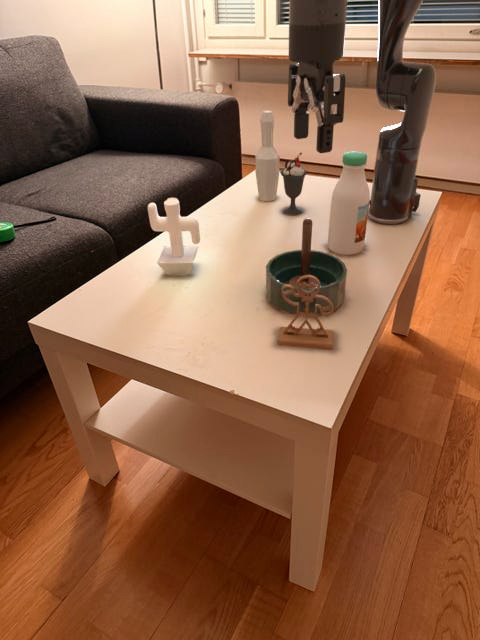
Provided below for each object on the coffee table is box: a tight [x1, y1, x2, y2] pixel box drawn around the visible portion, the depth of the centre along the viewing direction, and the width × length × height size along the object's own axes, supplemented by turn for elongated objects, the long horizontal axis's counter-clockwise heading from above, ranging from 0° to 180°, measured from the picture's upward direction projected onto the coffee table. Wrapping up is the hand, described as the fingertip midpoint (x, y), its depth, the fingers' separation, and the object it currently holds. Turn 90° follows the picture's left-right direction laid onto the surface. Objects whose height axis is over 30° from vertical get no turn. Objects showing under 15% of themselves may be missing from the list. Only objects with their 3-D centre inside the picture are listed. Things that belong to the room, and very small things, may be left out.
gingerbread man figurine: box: [276, 275, 335, 350], centre depth 72 cm, size 9×4×12 cm, turn 80°
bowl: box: [265, 249, 348, 316], centre depth 84 cm, size 14×14×6 cm
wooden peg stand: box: [289, 217, 318, 288], centre depth 81 cm, size 6×6×15 cm
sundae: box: [279, 152, 309, 216], centre depth 114 cm, size 7×7×15 cm
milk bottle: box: [327, 150, 371, 256], centre depth 95 cm, size 8×8×20 cm
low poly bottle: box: [254, 110, 281, 202], centre depth 120 cm, size 6×6×22 cm
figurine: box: [147, 197, 201, 276], centre depth 91 cm, size 7×9×15 cm
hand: (311, 144), depth 71 cm, fingers open, 8 cm apart
